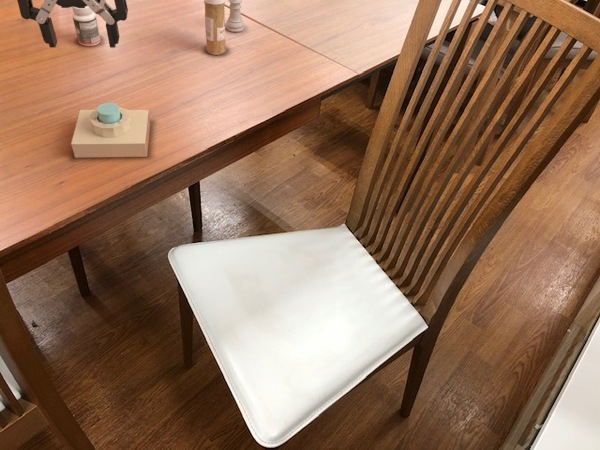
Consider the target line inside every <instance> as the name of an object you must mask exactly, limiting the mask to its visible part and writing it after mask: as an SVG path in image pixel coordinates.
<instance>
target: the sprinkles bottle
mask: <svg viewBox="0 0 600 450" xmlns="http://www.w3.org/2000/svg"><path fill="white" fill-rule="evenodd" d="M203 3H204V22H205V23H204V24H205V25H204V27H205V38H206V39H205V41H206V47H205V49H206V53H208V54H210V55H213V56H219V55H222V54H225V52H226V51H227V48H226V14H225V13H226V12H225V11H226V10H225V9H226V8H225V3H226V0H203Z"/></svg>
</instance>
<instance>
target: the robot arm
mask: <svg viewBox="0 0 600 450" xmlns="http://www.w3.org/2000/svg"><path fill="white" fill-rule="evenodd" d="M113 3H114V6H115V9H114V8H112V7H111V5H109V3H108V2H107V1H106V0H43V3H42V4H41V6H40V8H39V7H36V6H34V3H33V0H17V4H18V8H19V12H20V17H21V18H22V19H24V20H33V21H35V22H36V23H37V24H38V26H39V30H40V32H41V33H40V34H41V36H42V41H43V42H44V43H45V44H48V46H49V48H56V47H57V44H58V38H57V35H56V31H55V27H54V24H53V20H52V17H49V16H50V14H51V13H52V11H53V9H54V7H55V6H56V5H57V6H59V7H61V9H69V8H72V7H76V8H85V7H86V6H89V7H90V8H91V9H92V10H93V12H94V13H95V15H98V16H99V17H100V18H101V19H102V20H104V22H105V29H106V35H107V40H108V44H109V48H112V49H113V48H114V49H116V45H118V44H119V41H120V32H119V31H120V30H119V26H118V22H120V21H121V22H124V21H126V20H127V19H128V12H129V7H128V3H127V0H113Z"/></svg>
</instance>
